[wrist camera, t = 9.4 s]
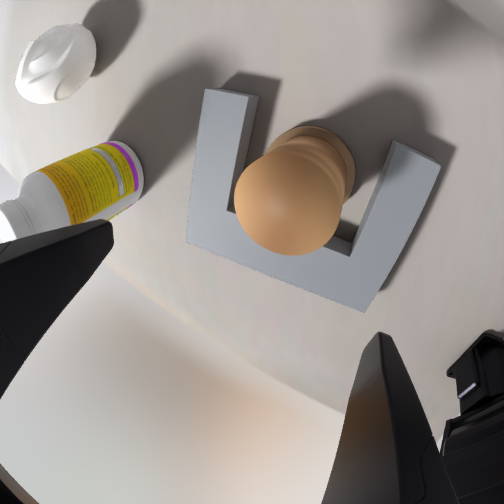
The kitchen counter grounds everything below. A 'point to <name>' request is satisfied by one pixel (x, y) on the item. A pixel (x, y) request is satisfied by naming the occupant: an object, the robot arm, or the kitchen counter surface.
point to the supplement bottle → (74, 191)
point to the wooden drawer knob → (296, 191)
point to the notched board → (336, 249)
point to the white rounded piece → (56, 64)
